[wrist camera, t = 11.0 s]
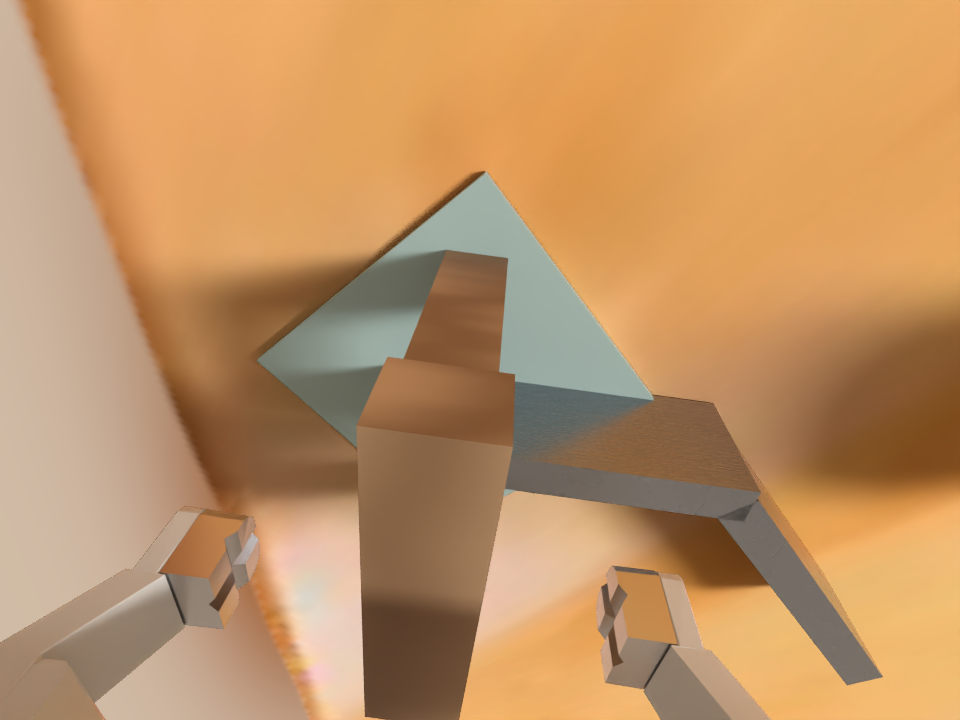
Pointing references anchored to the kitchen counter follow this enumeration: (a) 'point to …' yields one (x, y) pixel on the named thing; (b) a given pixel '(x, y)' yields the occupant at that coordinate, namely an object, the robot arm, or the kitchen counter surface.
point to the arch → (433, 493)
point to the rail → (676, 490)
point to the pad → (401, 298)
